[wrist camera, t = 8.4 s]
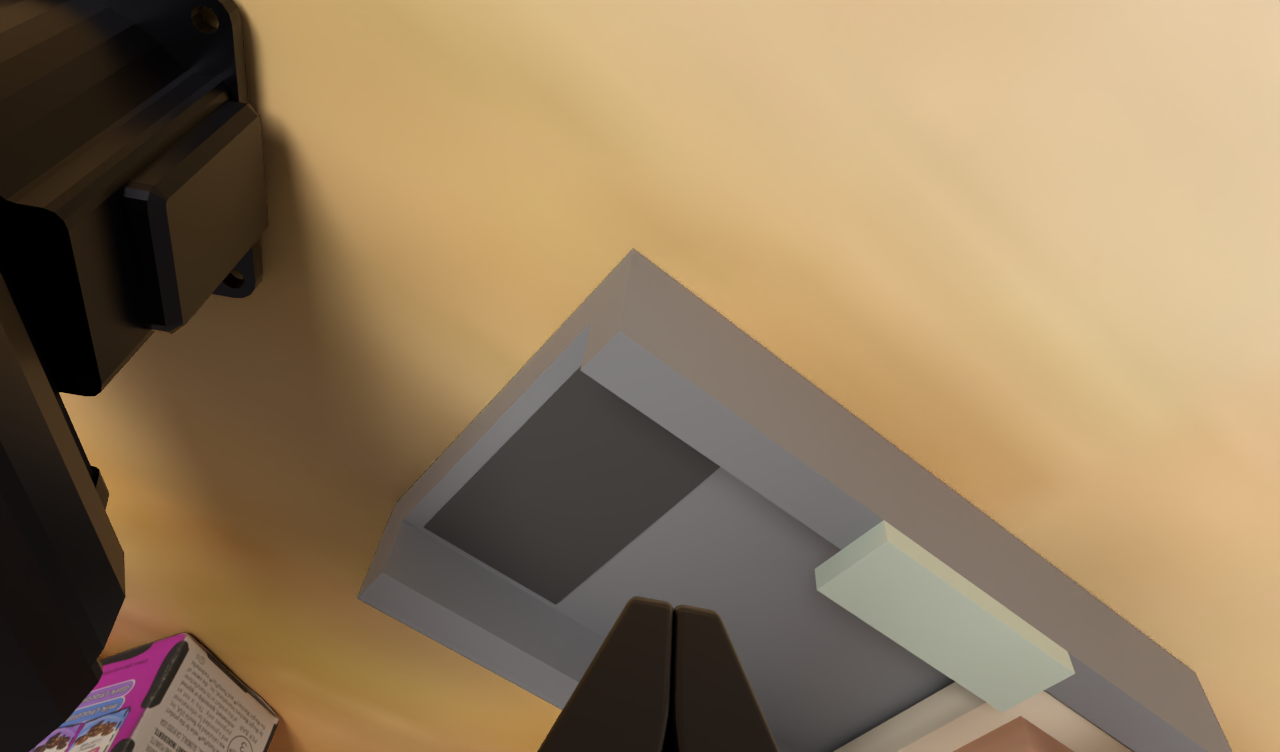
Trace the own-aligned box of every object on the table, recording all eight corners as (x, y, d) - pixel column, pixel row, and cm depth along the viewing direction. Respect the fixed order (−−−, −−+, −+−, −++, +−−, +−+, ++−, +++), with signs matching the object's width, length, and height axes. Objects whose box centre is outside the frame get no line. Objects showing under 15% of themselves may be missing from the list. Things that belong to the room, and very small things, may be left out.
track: (394, 504, 25) (348, 618, 22) (632, 248, 20) (615, 348, 17) (917, 811, 32) (938, 933, 29) (1195, 672, 27) (1255, 801, 24)
